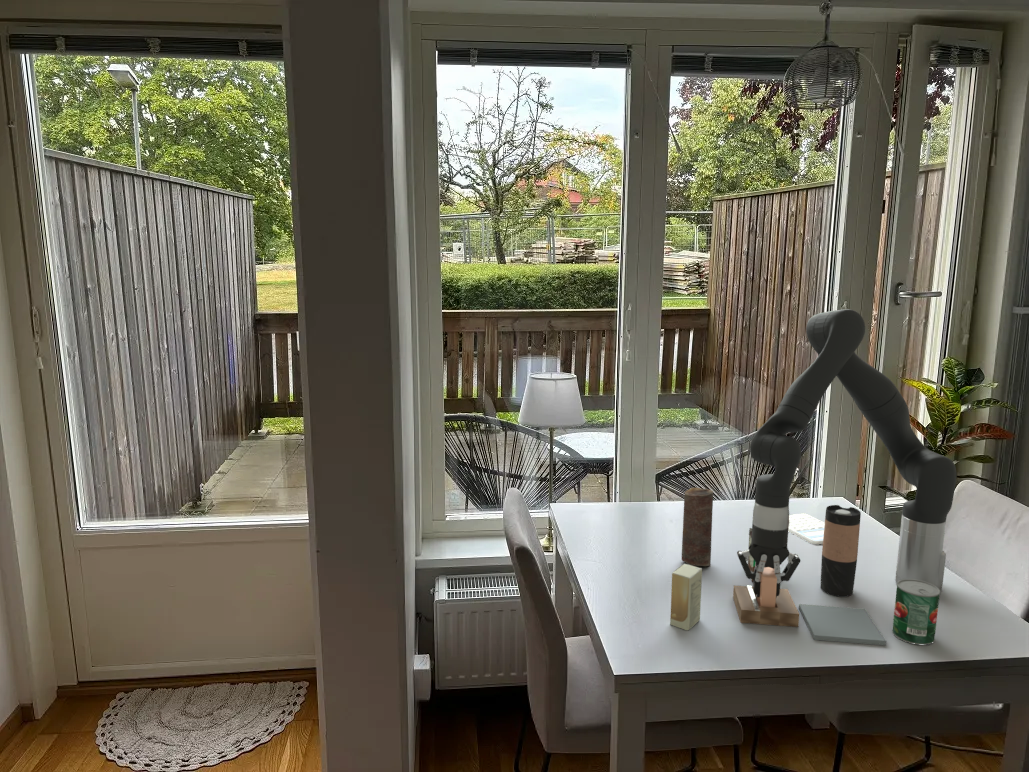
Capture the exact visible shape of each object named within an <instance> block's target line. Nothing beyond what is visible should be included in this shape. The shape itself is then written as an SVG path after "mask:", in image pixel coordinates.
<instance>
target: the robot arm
mask: <svg viewBox="0 0 1029 772" xmlns="http://www.w3.org/2000/svg"><path fill="white" fill-rule="evenodd" d="M805 329H806V337H807V339H808V342H809V344H810V346H811V347H812V348H813V350H814V351H815V352H816V353H817V355H818V356H817V357H816V358H815V360H814V361H813V362H812V363H811V364H810V365H809V366H808V367H807V368H806V369H805V370H804V371H803V372H802V373H801V374H800V375H799V376H798V377H797V378H796V379H795V380H794V381H793V382H792V383H791V384H790V386H789V388H788V389H787V390H786V392H785V394H784V396H783V397H782V399H781V402H780V403H779V405H778V407H777V409H776V411H775V412H774V413H773V414H772V415H771V416H770V417H769V418H768V419H767V420H766V422H765V423H763V424H762V426H760V428H759V429H758V430H757V431H756V432H755V433H754V435H753V436H752V438H751V441H750V445H749V452H750V456H751V458H752V459H753V460H754V461H755V462H758V463H760V464H763V465H767V466H771V467H775V468H774V469H775V470H774V473H773V474H772V473H771V474H770V473H769V474H766V473H765V474H761V475H759V476H758V477H757V478H756V481H755V496H754V506H753V510H752V522H751V523H752V525H751V528H752V538H751V545H750V546H749V545H748V548H747V549H746V550H738V551H737V552H736V555H737V557H738V560H739V562H740V564H741V566H742V569H743V571H744V573H745V576H746V578H747V579H749V580H751V579H753V580H754V581H753V582H752V583H753V585H752V587H753V591H754V594H755V595H756V596H757V597H760V585H761V582H760V580H761V574H762V573H763V571H764V568H766V567H770V568H772V570H773V571H774V575H776V577H777V586H776V596H779V594H780V589H781V583H782V582H789V581H790V580H791V578H792V576H793V575H794V573H795V571H796V570H797V568H798V566H799V565H800V563H801V562H802V561H801V558H800V557H799V555H798V553H792V552H790V551H789V548H788V541H789V532H788V529H789V522H790V520H789V515H790V495H791V486H792V484H793V483H792V482H793V480H794V477H795V475H796V472H797V469H798V466H799V464H800V461H801V459H802V458H801V457H802V448H801V445H800V443H799V441H798V440H797V439H796V438H794V437H791V436H789V435H787V434H790V433H799V432H803V431H804V430H805V429H806V428H807V427H808V425H809V423H810V421H811V419H812V417H813V415H814V413H815V412H816V410H817V407H818V406H819V404H820V402H821V399H822V398H823V396H824V395H825V393H826V391H827V389H828V388H829V386H831V383H832V382H833V381H834V380H835V379H836V377H837V379H838V380H839V382H840V383H841V384H842V386H843V387H844V389H845V390H846V391H847V393H848V394H849V396H850V397H851V398H852V400H853V401H854V403H855V405H856V407H857V409H858V410H859V411H860V412H861V414H862V415H863V417H864V418H865V420H866V421H867V422H868V424H869V425H870V426H871V428H872V429H873V431H874V433H876V435H877V436H878V438H879V439H880V440H881V442H882V443H883V444H884V446H885V447H886V449H887V451H888V453H889V455H890V456H891V459H892V461H893V462H894V465H895V466H896V468H897V471H898V472H899V474H900V476H901V477H902V478H903V480H904V481H906V482H907V483H908V484H910V485H911V486H914V487H915V488H916V492H915V497H914V498H915V499H913V500H906V501H905V502H904V503H903V505H902V512H901V520H900V530H899V531H900V532H899V541H898V550H897V562H896V571H895V579H894V580H895V583H896V584H897V582H898V581H900V580H903V579H915V580H920V581H924V582H928V583H930V584H933V585H934V586H936V587H937V588H938V589H939V590H940V592H943V586H944V578H945V577H944V576H945V568H946V558H947V553H946V552H945V551H944V543H945V534H946V533H945V532H946V524H947V517H948V514H949V513H950V511H951V509H952V507H953V501H954V495H955V490H956V484H957V468H956V465H955V462H953V460H951V458H949V457H947V456H945V455H942V454H939V453H937V452H934V451H932V450H930V449H928V448H927V447H926V446H925V445H924V444H923V443H922V441H921V440H920V439H919V438H918V436H917V435H916V433H915V432H914V431H913V428H912V426H911V421H910V420H911V419H910V410H909V407H908V404H907V402H906V400H905V399H904V396H903V395H902V394H901V393H900V391H899V389H898V387H897V386H896V385H895V384H894V382H893V381H892V380H891V379H890V378H889V377H887V376H886V375H885V374H884V373H882V372H881V371H879V370H878V369H876V368H875V367H874V366H872V365H871V364H869V363H867V362H866V361H865V360H863V359H862V358H861V357H860V356H859V355H858V354H857V353H856V352H855V351H856V350H857V349H858V348H859V346H860V345H861V343H862V341H863V339H864V337H865V333H866V323H865V320H864V317H863V316H862V315H861V314H860V313H859V312H858V311H856V310H854V309H848V308H844V309H837V310H835V309H834V310H830V311H825V312H820V313H816V314H813V316H811V317H810V318H809V319H808V321H807V324H806V327H805ZM749 555H751V556H752V558H753V559H754V560H755V569H754V572H752V571H750V569H749V566H748V560H749ZM786 559H787V564H786V565H785V567H784V569H783V570H782V572H781V565H782V564H783V563H784V562H785V560H786Z"/></svg>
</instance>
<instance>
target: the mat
mask: <svg viewBox="0 0 1029 772" xmlns="http://www.w3.org/2000/svg"><path fill="white" fill-rule="evenodd" d="M798 611H799V612H800V614H801V616H802V618H803V620H804V622H805V624H806V626H807V628H808V631H809V632H810V635H811V637H812V639H813V640H814V641H826V642H827V641H828V642H839V643H853V644H862V645H863V644H864V645H865V644H866V645H876V646H877V645H878V646H886V644H887V640H886V638H885V637H884V635H883V633H881V631H880V629H879V628H878V626H877V624H876V623H875V622H874V621H873V619H872V617H871V616H870V615H869V612H868V611H867V610H866V609H865V608H862V607H861V608H859V607H847V606H833V605H832V606H830V605H819V604H807V603H806V604H803V603H799V604H798Z"/></svg>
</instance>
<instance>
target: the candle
mask: <svg viewBox="0 0 1029 772" xmlns="http://www.w3.org/2000/svg"><path fill="white" fill-rule="evenodd" d="M713 504H714V491H713V490H712V489H709V488H700V487H691V488H689V489H686V491H685V492H684V497H683V516H682V517H683V518H682V519H683V520H682V536H681V539H682V541H681V561H682V562H684V563H685V564H688V565H691V566H695V567H708V566H711V563H712V562H711V560H712V536H713V535H712V532H713V530H712V528H713V506H714V505H713Z"/></svg>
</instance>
